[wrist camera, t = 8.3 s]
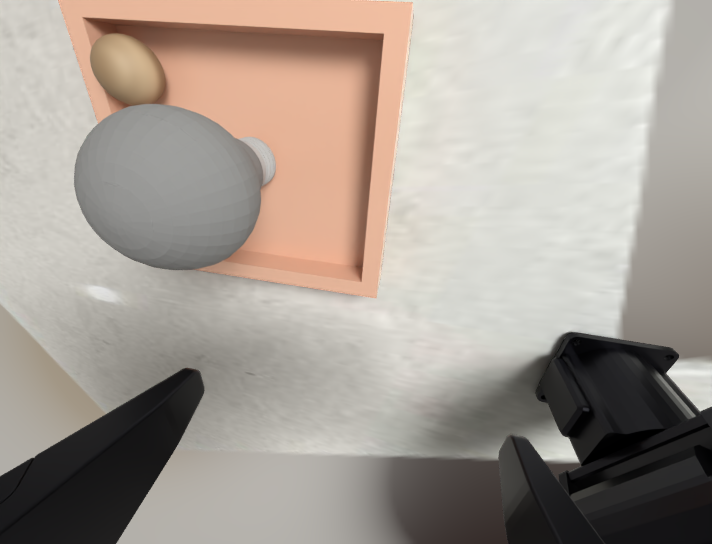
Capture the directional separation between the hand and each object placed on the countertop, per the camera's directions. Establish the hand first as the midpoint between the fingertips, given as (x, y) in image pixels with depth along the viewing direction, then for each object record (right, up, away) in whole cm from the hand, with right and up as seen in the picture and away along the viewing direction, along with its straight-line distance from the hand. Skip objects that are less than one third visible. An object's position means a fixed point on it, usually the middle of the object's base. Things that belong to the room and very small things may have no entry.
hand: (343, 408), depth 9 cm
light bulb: (-5, +11, +9) cm, 15 cm away
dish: (-5, +11, +9) cm, 15 cm away
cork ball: (-11, +15, +8) cm, 20 cm away
